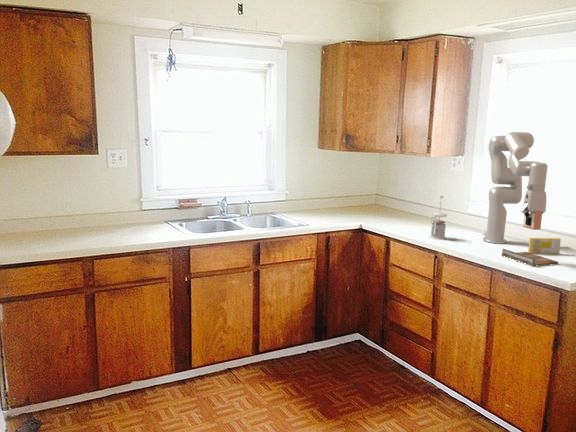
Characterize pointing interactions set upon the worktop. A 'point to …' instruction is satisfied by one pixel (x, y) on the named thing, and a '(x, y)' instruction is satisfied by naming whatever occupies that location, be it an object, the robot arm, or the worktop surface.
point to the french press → (438, 226)
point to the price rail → (518, 256)
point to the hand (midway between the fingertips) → (531, 224)
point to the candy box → (544, 245)
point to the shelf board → (538, 259)
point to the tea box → (534, 220)
